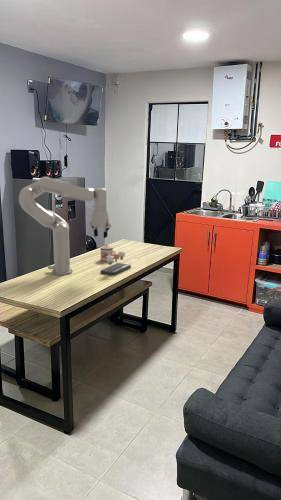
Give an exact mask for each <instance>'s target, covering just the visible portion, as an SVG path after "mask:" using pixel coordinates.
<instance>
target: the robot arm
mask: <svg viewBox="0 0 281 500" xmlns="http://www.w3.org/2000/svg"><path fill="white" fill-rule="evenodd" d="M44 193H49V194H53V195H59V196H63V197H65V198H69V199H74V200H79V201H83V202H91V201H92V200H93V205H92V209H94V210H93V211H92V216H91V222H89V225H90V227H91V228H92V230H93V236H94V237H95V238H96V237H99V229H98V228H102V229H103V239H105V238H108V231H109V230H110V229H111V228H112V227H113V225H112V224H111V223H110V222H109V213H108V210H107V188H102V187H101V188H100V187H97V188H94V187H93V188H92V187H81V186H77V185H74V184H72V183H69V182H67V181H63V180H60V179H55V178H52V177H51V178H50V177H49V176H42V177H40V178H39V179H37V180H36V181H34V182H32V183H30V184H29V185H27V186H24V187H23V188H22V189H21V190H20V192H19V196H18V202H19V205H20V207H21V208H22V210H23V211H24V212H25V213H27V214H28V215H29V216H30V217H32V218H33V219H34V220H35V221H36V222H38V223H39V224H40V225H41V226H43V227H45V228H49V229H50V230H52V239H53V240H52V241H53V262H54V265H47V269H48V270H52V272H51V273H52V274H53V275H56V276H65V275H66V276H67V275H70V274H72V273H73V271H74V270H73V269H72V268H71V259H70V225H69V223H68V222H67V221H66V220H65V219H63V218H62V217H61V216H59V215H58V214H57V213H55V211H52V210H51V209H45V208H44V207H43V206H41V204H39V203H37V202H36V200H35V199H36V198H37V197H39V196H41V195H43V194H44Z"/></svg>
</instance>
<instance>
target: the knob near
mask: <svg viewBox="0 0 281 500" xmlns="http://www.w3.org/2000/svg"><path fill="white" fill-rule="evenodd" d="M106 262H108V266H112V265H113V263H112V262H115V259H114V256H107V261H106Z"/></svg>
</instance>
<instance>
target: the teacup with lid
mask: <svg viewBox="0 0 281 500" xmlns="http://www.w3.org/2000/svg"><path fill="white" fill-rule="evenodd" d="M114 253H117V252H116V251H115V250H114V247H113V246H112V245H109V244H108V243H105V244H104V245H103V246H100V261H102V262H108V261H107V256H113V254H114Z"/></svg>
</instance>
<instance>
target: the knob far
mask: <svg viewBox="0 0 281 500" xmlns="http://www.w3.org/2000/svg"><path fill="white" fill-rule="evenodd" d="M117 253H118V254H119V260H120V261H123V260H124V258H125V256H126V252H125V251H124V250H121V251H120V250H119V251H118V252H117Z"/></svg>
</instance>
